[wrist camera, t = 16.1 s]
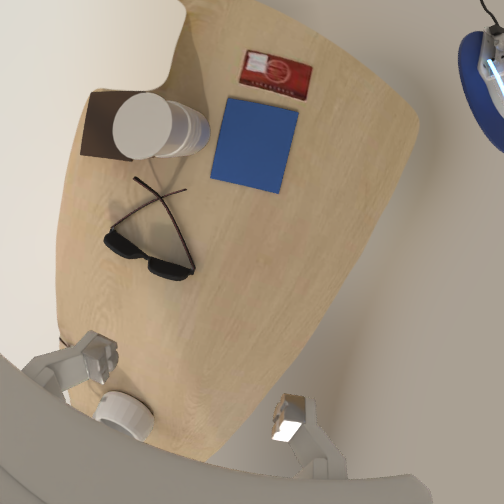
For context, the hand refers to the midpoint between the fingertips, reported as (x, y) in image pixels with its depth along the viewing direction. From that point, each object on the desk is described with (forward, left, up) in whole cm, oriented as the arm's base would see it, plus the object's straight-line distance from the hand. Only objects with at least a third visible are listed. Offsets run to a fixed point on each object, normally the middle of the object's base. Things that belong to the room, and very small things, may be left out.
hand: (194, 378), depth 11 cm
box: (-10, -22, -30) cm, 39 cm away
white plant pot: (+62, -25, -31) cm, 73 cm away
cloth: (-10, -3, -30) cm, 32 cm away
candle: (-10, -12, -31) cm, 35 cm away
